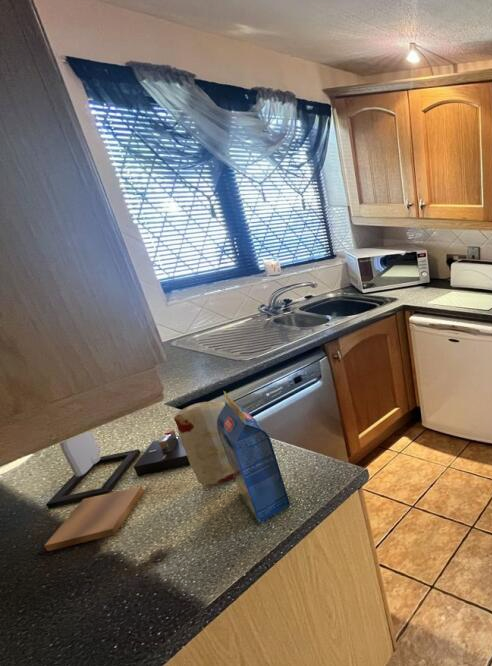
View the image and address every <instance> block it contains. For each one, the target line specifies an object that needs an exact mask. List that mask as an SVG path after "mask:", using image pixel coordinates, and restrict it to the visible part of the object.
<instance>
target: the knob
mask: <svg viewBox="0 0 492 666" xmlns="http://www.w3.org/2000/svg"><path fill="white" fill-rule="evenodd" d="M159 440H160V441H159V442H158V443H159V445H160V448H161V450H162V452H163V454H166V453H170V452H172V450H173V449H174V447H175V446H176V444H177V443H178V439H177V435H176V432H175V430H174V429H169V430H166V431H165V432H164V434H162V436H161V438H160V439H159Z"/></svg>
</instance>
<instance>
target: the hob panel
mask: <svg viewBox="0 0 492 666" xmlns="http://www.w3.org/2000/svg"><path fill="white" fill-rule="evenodd" d="M176 437H177V439H178V443H177V444H176V446H175V447H174V449H173V450H172V452H170V453H166V454H163V452H162V450H161V448H160V445H159V443H158V442H159V441H160V439H156V440H152V441H151V443H150V444H149V445H148V447H147V448H146V450H145V451H144V452H143V453H142V455H141V456H140V457H139V459H138V460H137V461H136V462H135V464H134V465H133V470H134V472H135V474H136V476H137V477H138V478H140V477H144V476H148V475H154V474H158V473H162V472H165V471H172V470H175V469H180V468H186V467H189V466H190V467H191V465H190V463H189V460H188V457H187V454H186V452H185V450H184V448H183V446H182V443H181V440H180V436H179V435H176Z"/></svg>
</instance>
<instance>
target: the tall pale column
mask: <svg viewBox="0 0 492 666" xmlns="http://www.w3.org/2000/svg"><path fill="white" fill-rule="evenodd" d="M58 443H59V442H58ZM59 447H60V449H61V452H62V453H63V456H64V457H65V459H66V461H67V463H68V465H69V467H70V468H71V470H72V473H73V475H74V474H75V476H76V477H77V476H81V475H83V474H85V473H86V472H87V471H88V470H89V469H90V468H91V467H92V466H93V464H95V463H97V462H98V461H99V460H100V459H101V457H102V456H100V455H101V454H100V453H101V449H100V447H99V445H98V442H97V441H96V439H95V437H94V435H93V433H92V431H91V430H90V431H89V432H87V433H84V434H82V435H79V436H77V437H74V438H72V439H70V440H67V441H64V442H62V443H59Z"/></svg>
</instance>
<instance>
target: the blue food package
mask: <svg viewBox="0 0 492 666" xmlns="http://www.w3.org/2000/svg"><path fill="white" fill-rule="evenodd" d="M223 394H224V397H225V400H226V402H225V406H224V407H223V409H222V411H221V412H220V414H219V416H218V419H217V429H218V433H219V436H220V439H221V441H222V444H223V447H224V450H225V453H226V455H227V458H228V461H229V464H230V466H231V469H232V472H233V475H234V480H235V483H236V487H237V489H238V491H239V494H240V495H241V497H242V500H243V501H244V503H245V504H246V506H247V507H248V509H249V511H250V512H251V514H252V515H253V517H254V518H255V519H256V520H257V522H258V523H261V522H263V521H265V520H266V519H268V518H270V517H272V516H274V515H275V514H277V513H279V512H281V511H282V510H284V509H286V508H287V507H289V506H290V505H291V503H290V500H289V496H288V494H287V490H286V486H285V482H284V479H283V476H282V472H281V469H280V466H279V463H278V459H277V456H276V453H275V449H274V446H273V442H272V440H271V438H270V436H269V434H268V433H267V432H266V431H265V430H264V429H263V428H262V426H261V425H260V423H259V422H258V421H257V420H256V419H255V418H254V416H252V414H250V413H249V412H248V411H247V410H246V409H245V408H244V407H243V406H240V405H238V404H236V403H235V401H233V399H231V397H230V396H229V395H228V394H227V392H226V391H223Z"/></svg>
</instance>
